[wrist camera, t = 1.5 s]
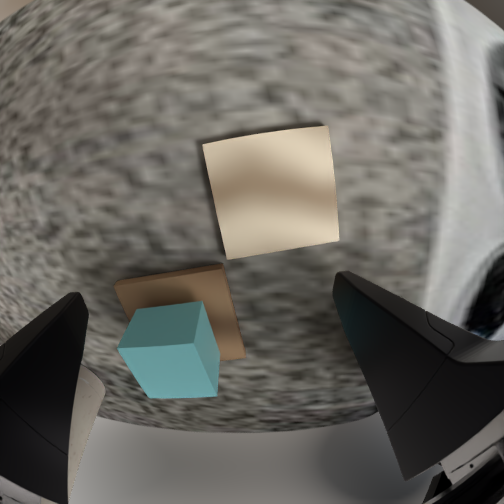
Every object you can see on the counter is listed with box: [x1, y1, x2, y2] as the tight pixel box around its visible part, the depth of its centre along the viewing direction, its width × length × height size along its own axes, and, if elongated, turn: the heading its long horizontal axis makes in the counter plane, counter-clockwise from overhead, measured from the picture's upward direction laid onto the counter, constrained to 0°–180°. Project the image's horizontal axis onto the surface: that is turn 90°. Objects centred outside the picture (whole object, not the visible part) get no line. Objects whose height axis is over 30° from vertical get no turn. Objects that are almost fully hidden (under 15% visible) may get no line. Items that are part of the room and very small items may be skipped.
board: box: [202, 126, 339, 260], centre depth 20 cm, size 9×9×1 cm
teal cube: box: [117, 301, 220, 398], centre depth 20 cm, size 6×6×5 cm
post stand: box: [114, 263, 246, 361], centre depth 22 cm, size 10×10×6 cm
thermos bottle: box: [41, 365, 105, 504], centre depth 16 cm, size 8×8×28 cm
